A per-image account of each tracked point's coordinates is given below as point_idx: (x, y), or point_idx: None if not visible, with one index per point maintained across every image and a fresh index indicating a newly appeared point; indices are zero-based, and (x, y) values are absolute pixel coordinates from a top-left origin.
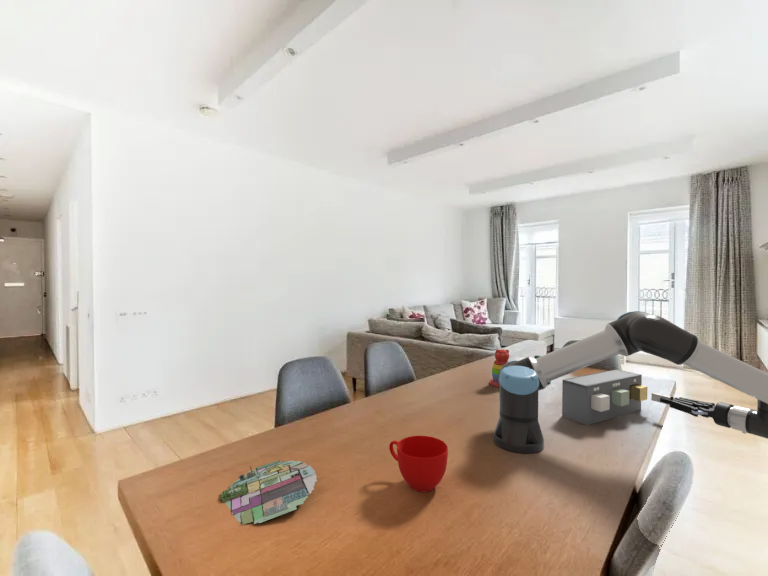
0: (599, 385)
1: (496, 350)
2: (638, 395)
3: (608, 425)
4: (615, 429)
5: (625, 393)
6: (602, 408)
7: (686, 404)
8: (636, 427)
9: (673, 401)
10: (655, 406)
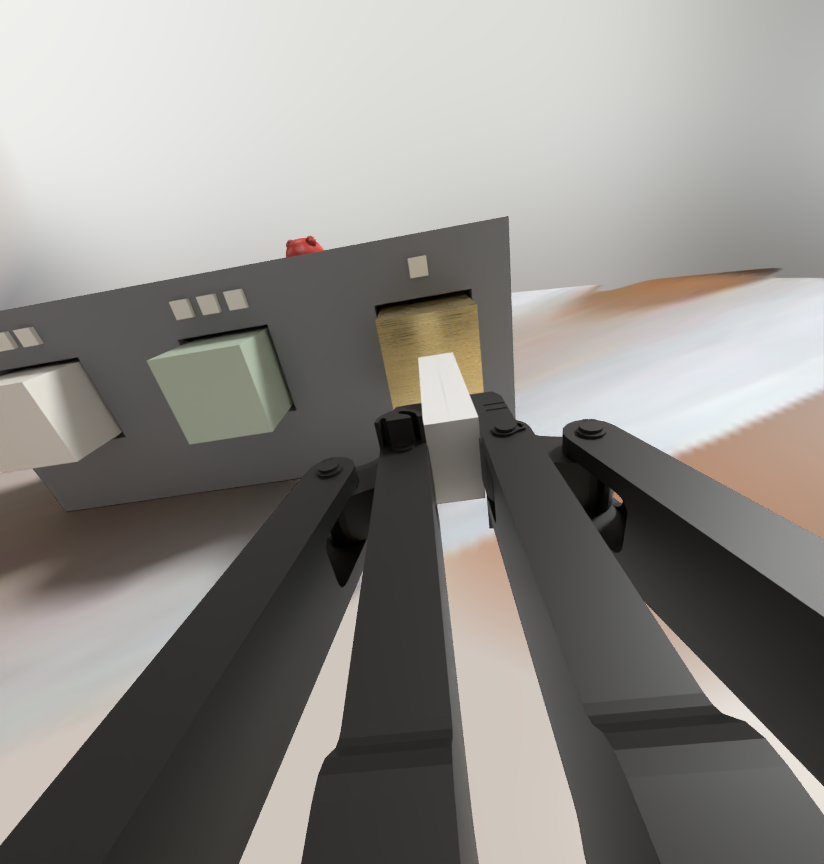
0: (38, 316)
1: (286, 243)
2: (387, 374)
3: (112, 535)
4: (49, 579)
5: (198, 364)
6: (2, 456)
7: (363, 628)
8: (158, 599)
9: (289, 495)
10: (657, 432)
